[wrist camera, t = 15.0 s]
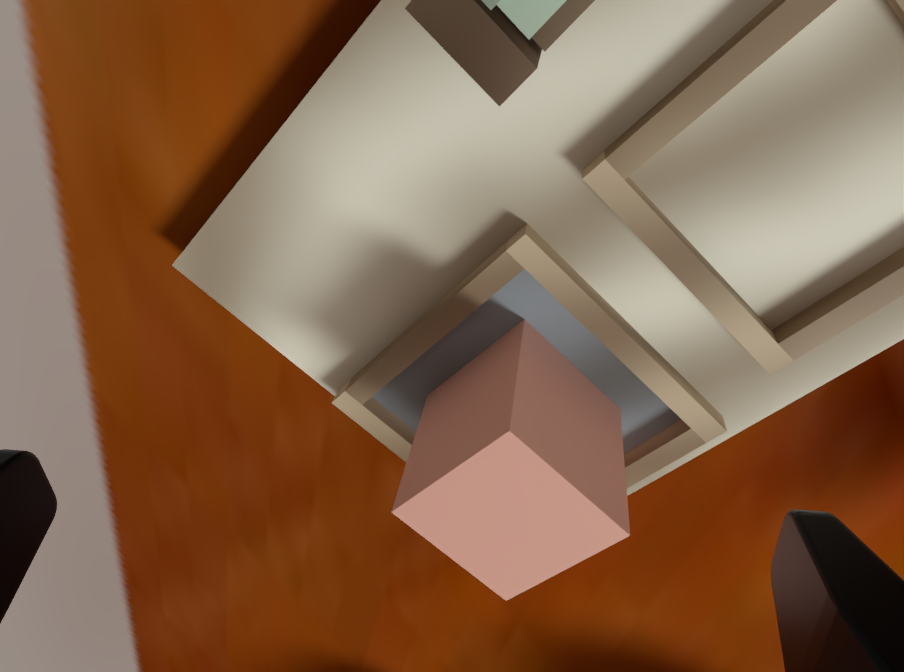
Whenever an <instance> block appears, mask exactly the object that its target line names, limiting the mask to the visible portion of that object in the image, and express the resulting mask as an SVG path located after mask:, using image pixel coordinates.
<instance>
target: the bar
mask: <svg viewBox="0 0 904 672" xmlns="http://www.w3.org/2000/svg"><path fill="white" fill-rule="evenodd" d="M482 1H483V2H484V4H485V5H486V6H487V7H488V8H489V9H490V10H492V9H493V8H494V7H495V6H496V5H497V6H498V7H499V8H500V9H501V10H502V11H503V12H504V13H505V14H506V16H507V17H508V18H509V19H510V20H511V21H512V22H513V23H514V24H515V25H516V26H517V28H518V29H519V30H520V31H521V32H522V33H523V34H524V35H525V36H526V37H527V38H528V40H529V39H530V38H531V37H532V36H533V35H534V34H535V33H536V32H537V31H538V30H539V29H540V28H541V27H542V26H543V25H544V24H545V23H546V21H547V20H548V19H549V18H550V17H551V16H552V15H553V14H554V13H555V12H556V11H557V10H558V9H559V8H560V7H561V6H562V5H563V4H564V3H565V1H566V0H482Z"/></svg>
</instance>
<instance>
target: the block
mask: <svg viewBox="0 0 904 672" xmlns="http://www.w3.org/2000/svg"><path fill="white" fill-rule="evenodd" d="M391 512H392V513H393V514H394V515H396V516H397V517H398V518H399V519H401V520H402V521H403V522H405V523H406V524H407V525H409V526H410V527H411V528H412V529H414V530H415V531H416V532H418V533H419V534H420V535H422V536H423V537H424V538H425V539H427V540H428V541H429V542H431V543H432V544H433V545H434V546H436V547H437V548H438V549H440V550H441V551H442V552H444V553H445V554H446V555H447V556H449V557H450V558H451V559H453V560H454V561H455V562H456V563H458V564H459V565H460V566H462V567H463V568H464V569H466V570H467V571H468V572H469V573H471V574H472V575H473V576H475V577H476V578H477V579H478V580H480V581H481V582H482V583H484V584H485V585H486V586H488V587H489V588H490V589H491V590H493V591H494V592H495V593H497V594H498V595H499V596H501V597H502V598H503V599H504V600H506V601H507V600H509V599H511V598H513V597H514V596H516V595H518V594H520V593H522V592H524V591H526V590H528V589H530V588H532V587H533V586H535V585H537V584H539V583H541V582H543V581H545V580H547V579H549V578H550V577H552V576H554V575H556V574H558V573H560V572H562V571H564V570H566V569H568V568H569V567H571V566H573V565H575V564H577V563H579V562H581V561H583V560H585V559H587V558H588V557H590V556H592V555H594V554H596V553H598V552H600V551H602V550H604V549H606V548H607V547H609V546H611V545H613V544H615V543H617V542H619V541H621V540H623V539H624V538H626V537H628V536H630V528H629V515H628V502H627V489H626V476H625V463H624V450H623V438H622V425H621V412H620V408H619V407H618V406H617V405H615V404H614V403H613V402H612V401H611V400H610V399H609V398H608V397H607V396H606V395H605V394H604V393H603V392H602V391H601V390H600V389H598V388H597V387H596V386H595V385H594V384H593V383H592V382H591V381H590V380H589V379H588V378H587V377H586V376H585V375H584V374H582V373H581V372H580V371H579V370H578V369H577V368H576V367H575V366H574V365H573V364H572V363H571V362H570V361H569V360H568V359H566V358H565V357H564V356H563V355H562V354H561V353H560V352H559V351H558V350H557V349H556V348H555V347H554V346H553V345H552V344H551V343H549V342H548V341H547V340H546V339H545V338H544V337H543V336H542V335H541V334H540V333H539V332H538V331H537V330H536V329H535V328H533V327H532V326H531V325H530V324H529V323H528V322H527V321H526V320H525V319H524V320H523V321H521V322H520V323H519V324H518V325H516V326H515V327H514V328H513V329H511V330H510V331H509V332H507V333H506V334H505V335H504V336H502V337H501V338H500V339H498V340H497V341H496V342H495V343H493V344H492V345H491V346H490V347H488V348H487V349H486V350H484V351H483V352H482V353H481V354H479V355H478V356H477V357H476V358H474V359H473V360H472V361H470V362H469V363H468V364H467V365H465V366H464V367H463V368H462V369H460V370H459V371H458V372H456V373H455V374H454V375H453V376H451V377H450V378H449V379H447V380H446V381H445V382H444V383H442V384H441V385H440V386H439V387H437V388H436V389H435V390H433V391H432V392H431V393H430V394H428V395H427V398H426V402H425V405H424V408H423V411H422V415H421V418H420V421H419V424H418V428H417V431H416V434H415V437H414V440H413V444H412V447H411V450H410V453H409V457H408V460H407V463H406V466H405V469H404V473H403V476H402V479H401V482H400V486H399V489H398V492H397V495H396V498H395V502H394V505H393V508H392V511H391Z"/></svg>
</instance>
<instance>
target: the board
mask: <svg viewBox="0 0 904 672" xmlns="http://www.w3.org/2000/svg"><path fill="white" fill-rule="evenodd" d="M172 266H173V267H175V268H176V269H177V270H178V271H179V272H181V273H182V274H183V275H184V276H186V277H187V278H188V279H189V280H191V281H192V282H193V283H194V284H196V285H197V286H198V287H199V288H201V289H202V290H203V291H204V292H206V293H207V294H208V295H209V296H211V297H212V298H213V299H214V300H216V301H217V302H218V303H219V304H221V305H222V306H223V307H224V308H226V309H227V310H228V311H229V312H231V313H232V314H233V315H234V316H236V317H237V318H238V319H239V320H240V321H242V322H243V323H244V324H245V325H247V326H248V327H249V328H250V329H252V330H253V331H254V332H255V333H257V334H258V335H259V336H260V337H262V338H263V339H264V340H265V341H267V342H268V343H269V344H270V345H272V346H273V347H274V348H275V349H277V350H278V351H279V352H280V353H282V354H283V355H284V356H285V357H287V358H288V359H289V360H290V361H292V362H293V363H294V364H295V365H296V366H298V367H299V368H300V369H301V370H303V371H304V372H305V373H306V374H308V375H309V376H310V377H311V378H313V379H314V380H315V381H316V382H318V383H319V384H320V385H321V386H323V387H324V388H325V389H326V390H328V391H329V392H330V393H331V394H333V395H334V396H335V397H334V399H333V401H332V404H334V405H335V406H336V407H337V408H339V409H340V410H341V411H342V412H344V413H345V414H346V415H347V416H349V417H350V418H351V419H352V420H354V421H355V422H356V423H357V424H359V425H360V426H361V427H363V428H364V429H365V430H366V431H368V432H369V433H370V434H371V435H373V436H374V437H375V438H376V439H378V440H379V441H380V442H381V443H383V444H384V445H385V446H386V447H388V448H389V449H390V450H391V451H393V452H394V453H395V454H396V455H398V456H399V457H400V458H401V459H403V460H404V461H405V462H406V463H407V460H408V457H409V453H410V450H411V447H412V444H413V440H414V437H415V434H416V431H417V428H418V424H419V421H420V418H421V415H422V411H423V408H424V405H425V402H426V398H427V395H428V394H430V393H431V392H432V391H433V390H435V389H436V388H437V387H439V386H440V385H441V384H442V383H444V382H445V381H446V380H447V379H449V378H450V377H451V376H453V375H454V374H455V373H456V372H458V371H459V370H460V369H462V368H463V367H464V366H465V365H467V364H468V363H469V362H470V361H472V360H473V359H474V358H476V357H477V356H478V355H479V354H481V353H482V352H483V351H484V350H486V349H487V348H488V347H490V346H491V345H492V344H493V343H495V342H496V341H497V340H498V339H500V338H501V337H502V336H504V335H505V334H506V333H507V332H509V331H510V330H511V329H513V328H514V327H515V326H516V325H518V324H519V323H520V322H521V321H523V320H524V319H525V320H526V321H527V322H528V323H529V324H530V325H531V326H532V327H533V328H535V329H536V330H537V331H538V332H539V333H540V334H541V335H542V336H543V337H544V338H545V339H546V340H547V341H548V342H549V343H551V344H552V345H553V346H554V347H555V348H556V349H557V350H558V351H559V352H560V353H561V354H562V355H563V356H564V357H565V358H566V359H568V360H569V361H570V362H571V363H572V364H573V365H574V366H575V367H576V368H577V369H578V370H579V371H580V372H581V373H582V374H584V375H585V376H586V377H587V378H588V379H589V380H590V381H591V382H592V383H593V384H594V385H595V386H596V387H597V388H598V389H600V390H601V391H602V392H603V393H604V394H605V395H606V396H607V397H608V398H609V399H610V400H611V401H612V402H613V403H614V404H615V405H617V406H618V407H619V408H620V412H621V425H622V438H623V450H624V463H625V476H626V489H627V496H628V495H630V494H631V493H633V492H635V491H637V490H638V489H640V488H642V487H644V486H645V485H647V484H649V483H651V482H653V481H654V480H656V479H658V478H660V477H661V476H663V475H665V474H667V473H668V472H670V471H672V470H674V469H675V468H677V467H679V466H681V465H682V464H684V463H686V462H688V461H690V460H691V459H693V458H695V457H697V456H698V455H700V454H702V453H704V452H705V451H707V450H709V449H711V448H712V447H714V446H716V445H718V444H719V443H721V442H723V441H725V440H727V439H728V438H730V437H732V436H734V435H735V434H737V433H739V432H741V431H742V430H744V429H746V428H748V427H749V426H751V425H753V424H755V423H756V422H758V421H760V420H762V419H764V418H765V417H767V416H769V415H771V414H772V413H774V412H776V411H778V410H779V409H781V408H783V407H785V406H786V405H788V404H790V403H792V402H793V401H795V400H797V399H799V398H801V397H802V396H804V395H806V394H808V393H809V392H811V391H813V390H815V389H816V388H818V387H820V386H822V385H823V384H825V383H827V382H829V381H830V380H832V379H834V378H836V377H838V376H839V375H841V374H843V373H845V372H846V371H848V370H850V369H852V368H853V367H855V366H857V365H859V364H860V363H862V362H864V361H866V360H867V359H869V358H871V357H873V356H875V355H876V354H878V353H880V352H882V351H883V350H885V349H887V348H889V347H890V346H892V345H894V344H896V343H897V342H899V341H901V340H903V339H904V0H566V1H565V3H564V4H563V5H562V6H561V7H560V8H559V9H558V10H557V11H556V12H555V13H554V14H553V15H552V16H551V17H550V18H549V19H548V20H547V21H546V23H545V24H544V25H543V26H542V27H541V28H540V29H539V30H538V31H537V32H536V33H535V34H534V35H533V36H532V37H531V38H530V39H529V40H528V38H527V37H526V36H525V35H524V34H523V33H522V32H521V31H520V30H519V29H518V28H517V26H516V25H515V24H514V23H513V22H512V21H511V20H510V19H509V18H508V17H507V16H506V14H505V13H504V12H503V11H502V10H501V9H500V8H499V7H498V6H497V5H496V6H495V7H494V8H493V9H492V10H490V9H489V8H488V7H487V6H486V5H485V4H484V2H483V1H482V0H381V1H380V2H379V4H378V5H377V6H376V7H375V9H374V10H373V11H372V12H371V14H370V15H369V16H368V17H367V19H366V20H365V21H364V23H363V24H362V25H361V26H360V28H359V29H358V30H357V31H356V33H355V34H354V35H353V36H352V38H351V39H350V40H349V42H348V43H347V44H346V45H345V47H344V48H343V49H342V50H341V52H340V53H339V54H338V55H337V57H336V58H335V59H334V61H333V62H332V63H331V64H330V66H329V67H328V68H327V69H326V71H325V72H324V73H323V75H322V76H321V77H320V78H319V80H318V81H317V82H316V83H315V85H314V86H313V87H312V88H311V90H310V91H309V92H308V94H307V95H306V96H305V97H304V99H303V100H302V101H301V102H300V104H299V105H298V106H297V107H296V109H295V110H294V111H293V113H292V114H291V115H290V116H289V118H288V119H287V120H286V121H285V123H284V124H283V125H282V126H281V128H280V129H279V130H278V132H277V133H276V134H275V135H274V137H273V138H272V139H271V140H270V142H269V143H268V144H267V145H266V147H265V148H264V149H263V151H262V152H261V153H260V154H259V156H258V157H257V158H256V159H255V161H254V162H253V163H252V164H251V166H250V167H249V168H248V170H247V171H246V172H245V173H244V175H243V176H242V177H241V178H240V180H239V181H238V182H237V183H236V185H235V186H234V187H233V189H232V190H231V191H230V192H229V194H228V195H227V196H226V197H225V199H224V200H223V201H222V203H221V204H220V205H219V206H218V208H217V209H216V210H215V211H214V213H213V214H212V215H211V216H210V218H209V219H208V220H207V222H206V223H205V224H204V225H203V227H202V228H201V229H200V230H199V232H198V233H197V234H196V235H195V237H194V238H193V239H192V241H191V242H190V243H189V244H188V246H187V247H186V248H185V249H184V251H183V252H182V253H181V254H180V256H179V257H178V258H177V260H176V261H175V262H174V263H173V265H172Z"/></svg>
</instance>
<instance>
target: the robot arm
mask: <svg viewBox="0 0 904 672" xmlns="http://www.w3.org/2000/svg"><path fill="white" fill-rule="evenodd" d="M56 509H57V500H56V496H55V494H54V492H53V490H52V487H51V485H50V483H49V481H48V479H47V477H46V475H45V473H44V471H43V468H42V466H41V464H40V462H39V460H38V458H37V457H36V456H35V455H34V454H33V453H31V452H28V451H18V450H5V449H4V450H0V623H1V621H2V619H3V617H4V615H5V613H6V611H7V610H8V608H9V606H10V604H11V602H12V599H13V598H14V596H15V594H16V592H17V590H18V588H19V586H20V584H21V582H22V580H23V578H24V576H25V574H26V572H27V570H28V568H29V566H30V564H31V562H32V560H33V558H34V556H35V554H36V552H37V550H38V548H39V546H40V544H41V542H42V540H43V539H44V537H45V535H46V533H47V531H48V529H49V527H50V525H51V523H52V521H53V519H54V516H55V513H56ZM771 581H772V588H773V595H774V601H775V608H776V614H777V621H778V627H779V634H780V640H781V647H782V653H783V660H784V666H785V672H904V580H902V579H901V578H900V577H899V576H898V575H897V574H896V573H895V572H894V571H893V570H892V569H891V568H890V567H889V566H888V565H887V564H886V563H884V562H883V561H882V560H881V559H880V558H879V557H878V556H877V555H876V554H875V553H874V552H873V551H872V550H871V549H870V548H869V547H867V546H866V545H865V544H864V543H863V542H862V541H861V540H860V539H859V538H858V537H857V536H856V535H855V534H854V533H853V532H852V531H850V530H849V529H848V528H847V527H846V526H845V525H844V524H843V523H842V522H841V521H840V520H839V519H838V518H837V517H835V516H834V515H832V514H830V513H828V512H824V511H811V510H798V509H795V510H791V511H789V512H788V513H787V515H786V516H785V518H784V521H783V525H782V528H781V531H780V535H779V538H778V542H777V545H776V549H775V552H774V556H773V559H772V565H771Z"/></svg>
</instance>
